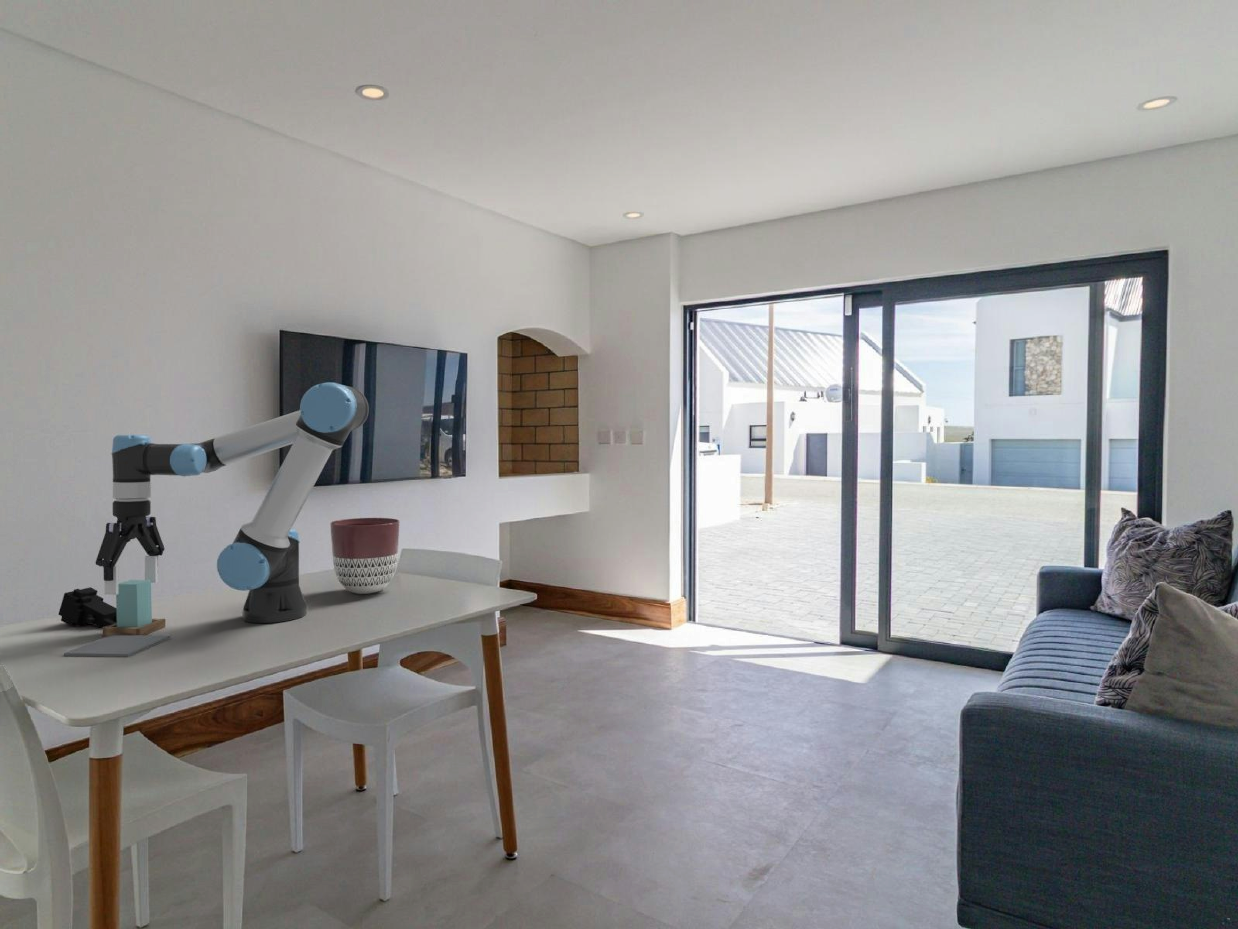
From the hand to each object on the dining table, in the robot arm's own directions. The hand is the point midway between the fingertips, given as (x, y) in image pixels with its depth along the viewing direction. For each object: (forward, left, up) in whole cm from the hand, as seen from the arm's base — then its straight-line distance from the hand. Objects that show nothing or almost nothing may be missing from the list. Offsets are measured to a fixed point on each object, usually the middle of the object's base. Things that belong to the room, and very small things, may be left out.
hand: (132, 588), depth 173 cm
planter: (-39, -45, -11) cm, 61 cm away
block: (0, 0, -11) cm, 11 cm away
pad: (-5, +12, -11) cm, 17 cm away
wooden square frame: (0, 0, -11) cm, 11 cm away
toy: (+13, -6, -11) cm, 18 cm away
